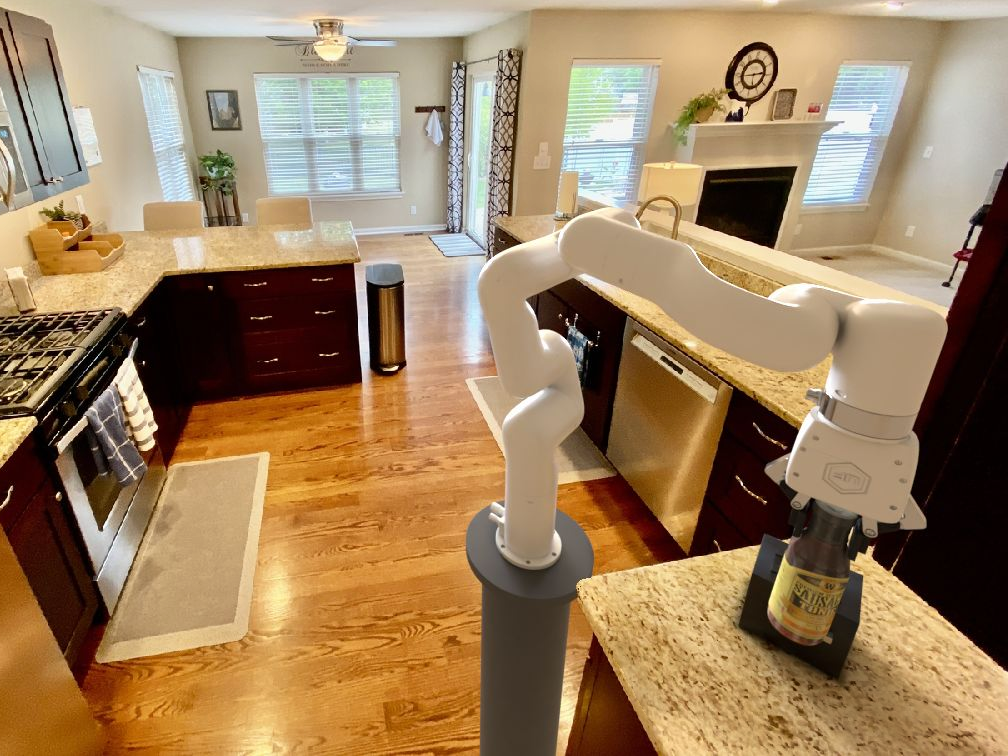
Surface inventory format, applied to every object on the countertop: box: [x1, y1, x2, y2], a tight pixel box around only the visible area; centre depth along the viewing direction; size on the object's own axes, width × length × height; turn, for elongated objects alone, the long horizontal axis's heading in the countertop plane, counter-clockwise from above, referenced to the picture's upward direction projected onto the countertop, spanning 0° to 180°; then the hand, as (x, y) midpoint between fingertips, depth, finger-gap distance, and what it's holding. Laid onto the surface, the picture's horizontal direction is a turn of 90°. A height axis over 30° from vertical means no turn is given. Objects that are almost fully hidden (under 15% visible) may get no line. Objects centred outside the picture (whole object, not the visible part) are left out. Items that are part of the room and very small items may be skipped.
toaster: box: [737, 533, 864, 681], centre depth 73 cm, size 12×11×11 cm
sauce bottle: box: [768, 498, 859, 646], centre depth 61 cm, size 7×6×20 cm
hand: (824, 540), depth 59 cm, fingers closed on sauce bottle, 4 cm apart
